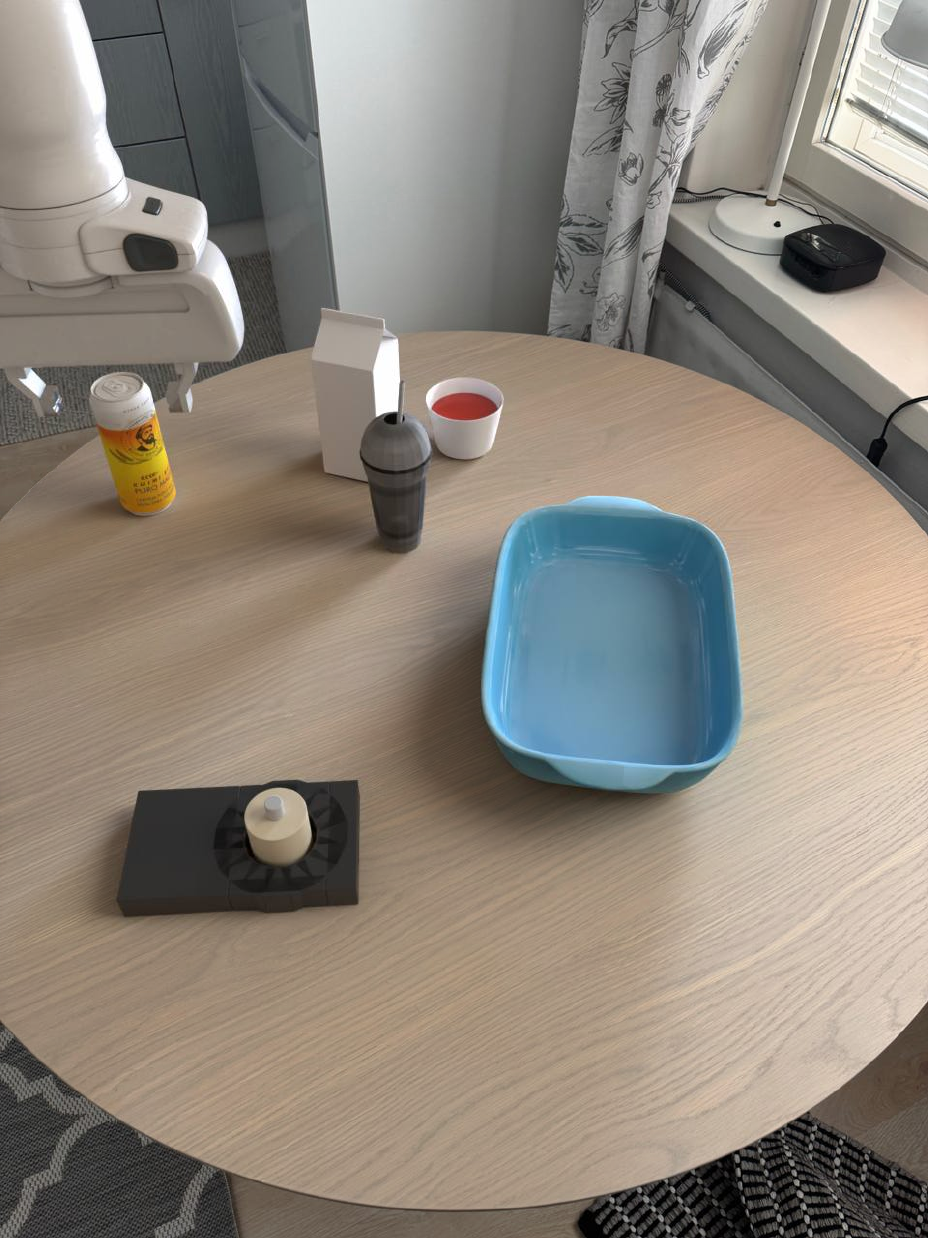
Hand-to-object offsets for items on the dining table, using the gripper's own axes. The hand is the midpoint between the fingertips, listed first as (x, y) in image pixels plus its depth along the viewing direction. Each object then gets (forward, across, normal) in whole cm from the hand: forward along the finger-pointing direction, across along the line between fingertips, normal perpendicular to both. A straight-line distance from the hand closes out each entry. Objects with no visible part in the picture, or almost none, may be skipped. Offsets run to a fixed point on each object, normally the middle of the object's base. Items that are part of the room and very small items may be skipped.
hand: (117, 410), depth 73 cm
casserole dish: (+29, +39, -2) cm, 49 cm away
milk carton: (+29, +16, +32) cm, 46 cm away
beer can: (+29, -8, +26) cm, 40 cm away
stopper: (+29, +10, -20) cm, 37 cm away
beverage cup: (+29, +20, +18) cm, 40 cm away
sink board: (+29, +7, -20) cm, 36 cm away
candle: (+29, +28, +35) cm, 54 cm away
